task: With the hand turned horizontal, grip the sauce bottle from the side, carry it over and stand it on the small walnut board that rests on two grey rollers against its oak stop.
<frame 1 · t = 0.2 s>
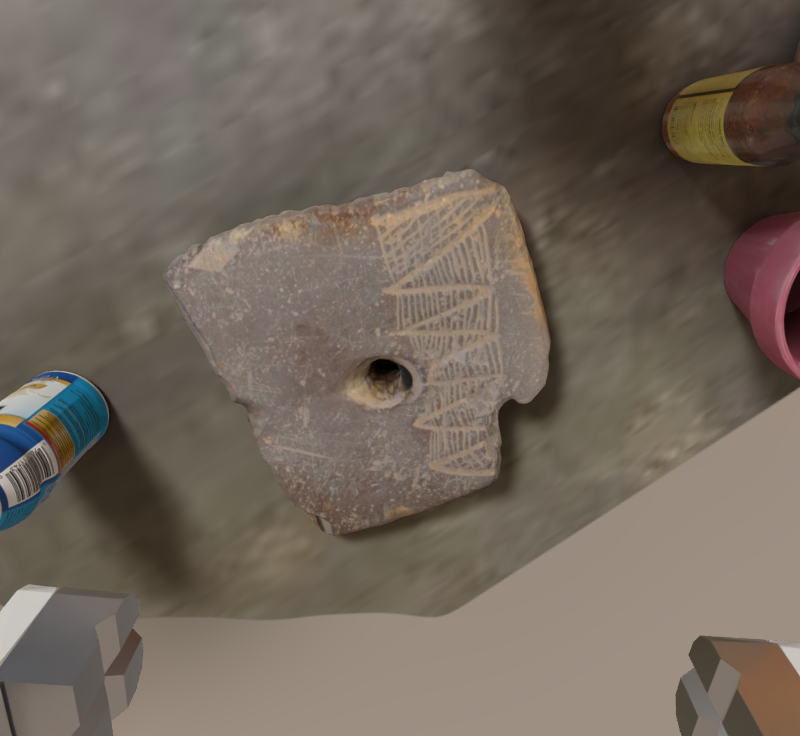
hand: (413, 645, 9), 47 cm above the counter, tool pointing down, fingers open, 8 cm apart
stone slab: (387, 345, 58), on the counter
beverage bottle: (69, 407, 60), on the counter
sauce bottle: (696, 119, 51), on the counter
plant pot: (774, 264, 55), on the counter
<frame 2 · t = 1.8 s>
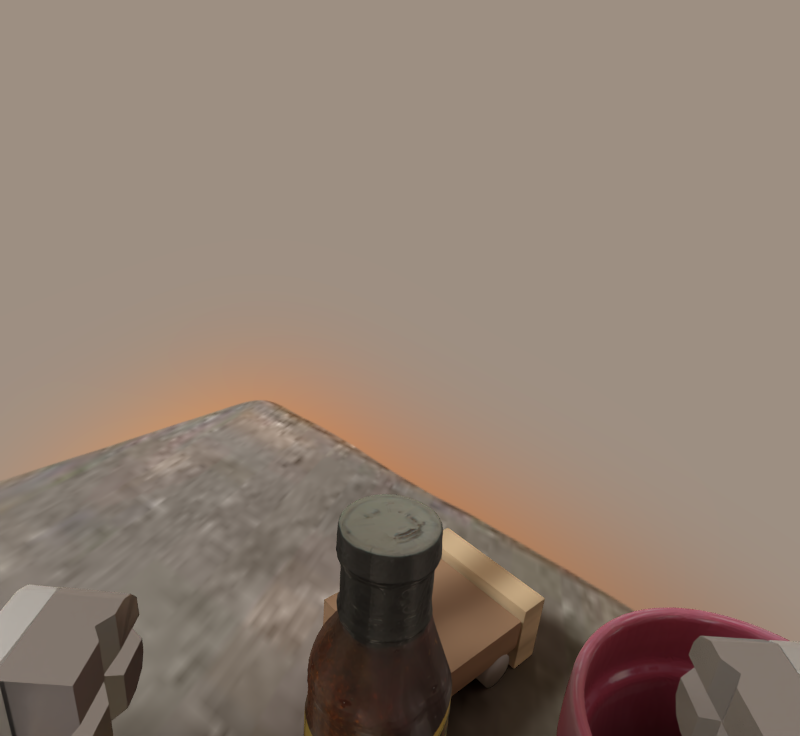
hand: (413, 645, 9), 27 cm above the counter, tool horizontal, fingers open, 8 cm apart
roller board: (416, 660, 42), on the counter
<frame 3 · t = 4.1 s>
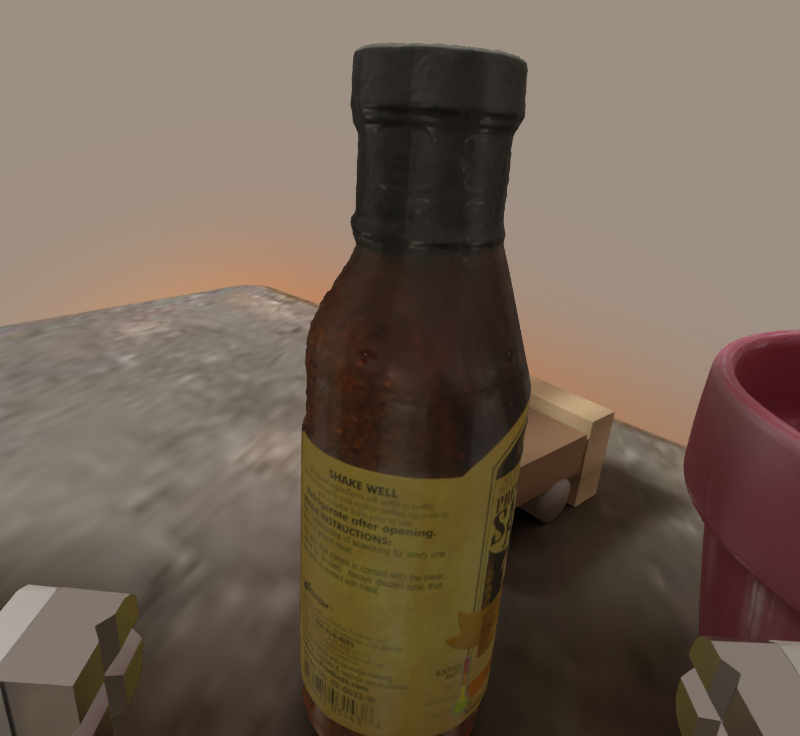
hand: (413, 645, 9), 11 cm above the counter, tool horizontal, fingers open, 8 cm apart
roller board: (448, 497, 33), on the counter
sauce bottle: (389, 696, 22), on the counter
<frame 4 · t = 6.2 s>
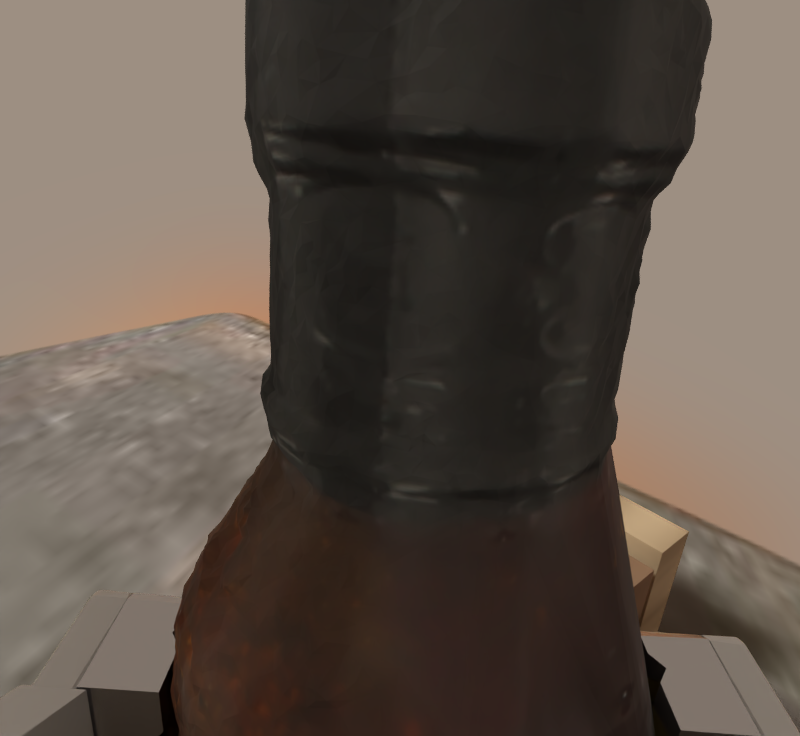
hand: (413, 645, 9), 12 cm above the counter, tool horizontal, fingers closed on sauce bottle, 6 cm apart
roller board: (458, 644, 24), on the counter
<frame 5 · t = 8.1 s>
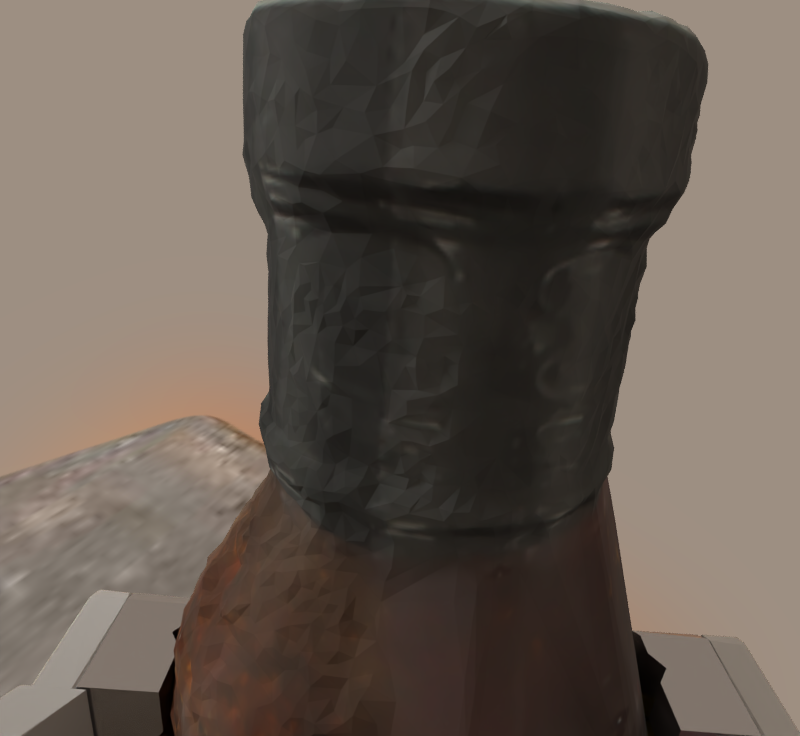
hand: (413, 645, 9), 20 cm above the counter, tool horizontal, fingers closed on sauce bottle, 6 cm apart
when the fingers open (17 cm above the counter, at t = 9.9 s): sauce bottle stays where it is, resting on roller board.
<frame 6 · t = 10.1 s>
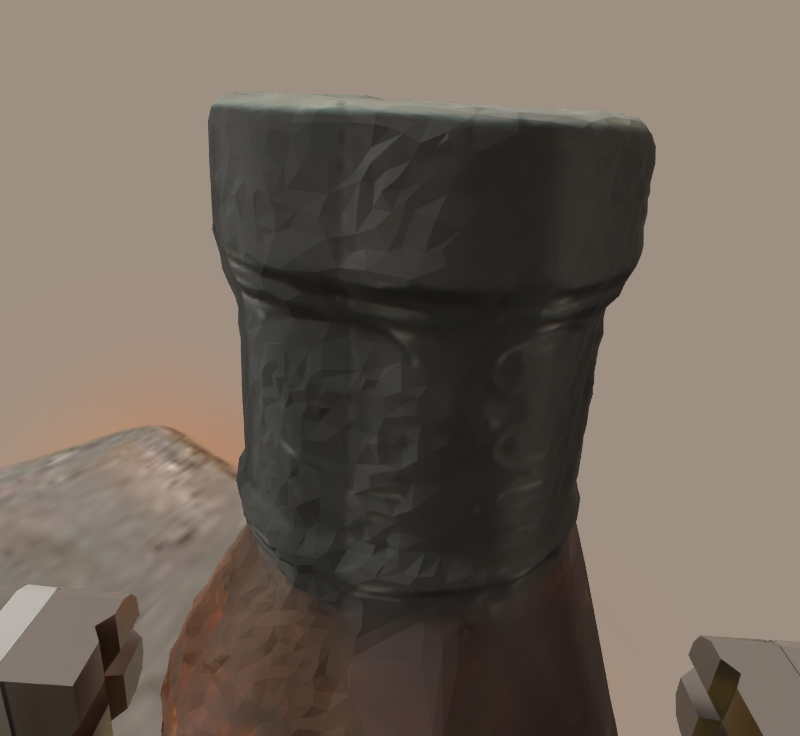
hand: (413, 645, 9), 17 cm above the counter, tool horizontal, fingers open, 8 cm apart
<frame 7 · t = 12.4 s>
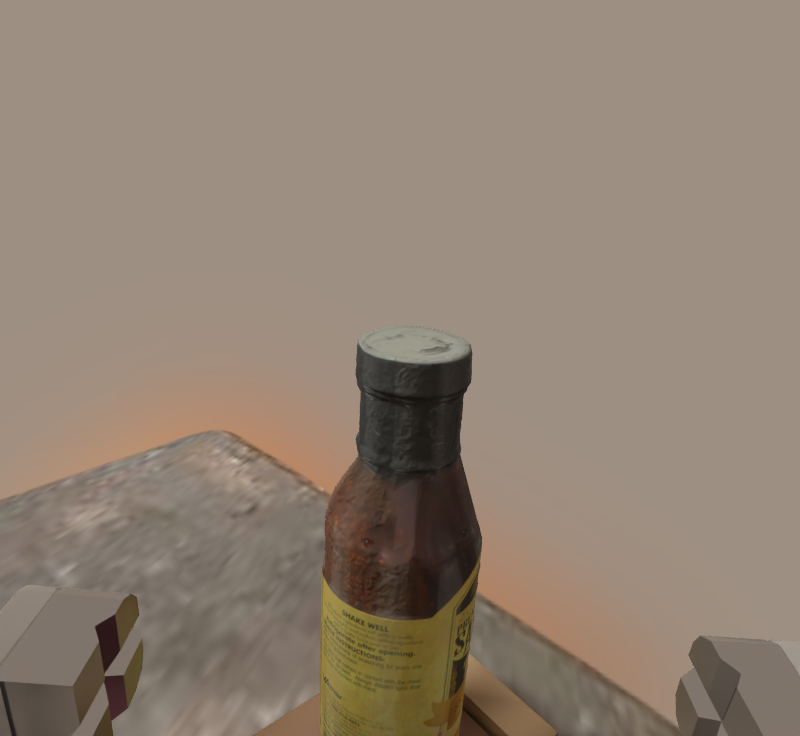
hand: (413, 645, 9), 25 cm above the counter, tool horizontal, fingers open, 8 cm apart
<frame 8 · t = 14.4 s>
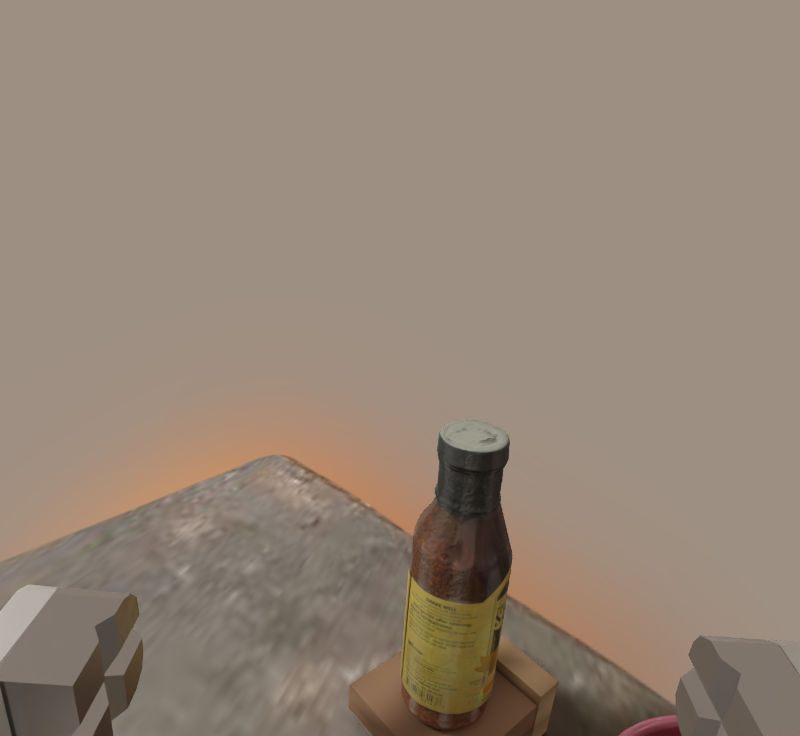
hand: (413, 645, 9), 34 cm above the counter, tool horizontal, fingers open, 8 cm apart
sauce bottle: (442, 693, 43), point 4 cm above the counter, touching roller board
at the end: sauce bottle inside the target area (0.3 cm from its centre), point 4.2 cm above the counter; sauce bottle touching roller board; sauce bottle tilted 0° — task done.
